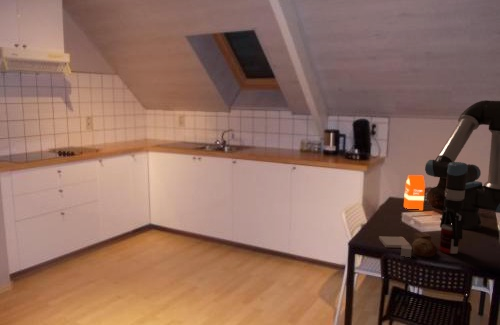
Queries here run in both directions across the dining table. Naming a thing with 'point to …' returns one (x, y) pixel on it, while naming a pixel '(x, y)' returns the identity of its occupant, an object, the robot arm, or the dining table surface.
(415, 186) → the orange juice
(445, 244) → the canned food
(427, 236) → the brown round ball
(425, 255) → the bread roll
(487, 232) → the dining table surface
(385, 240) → the plate
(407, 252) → the grey block
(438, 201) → the glass bottle
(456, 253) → the robot arm
